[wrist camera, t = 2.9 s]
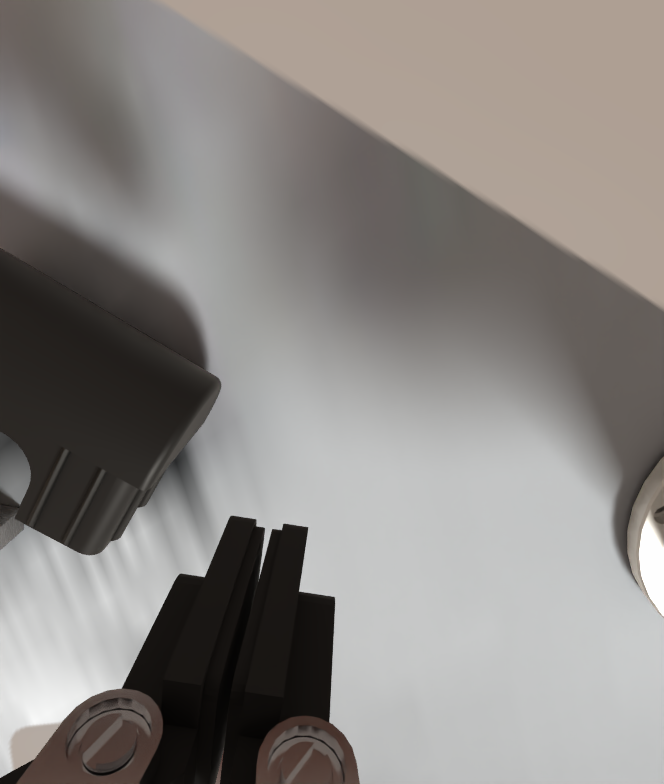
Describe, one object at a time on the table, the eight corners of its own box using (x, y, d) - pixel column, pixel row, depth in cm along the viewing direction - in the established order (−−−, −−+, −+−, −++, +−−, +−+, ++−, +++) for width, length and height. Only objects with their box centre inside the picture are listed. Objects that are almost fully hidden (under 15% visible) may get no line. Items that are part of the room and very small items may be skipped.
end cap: (242, 358, 21) (188, 418, 15) (171, 481, 23) (97, 579, 17) (26, 228, 20) (-134, 230, 14) (-28, 370, 22) (-188, 430, 16)
